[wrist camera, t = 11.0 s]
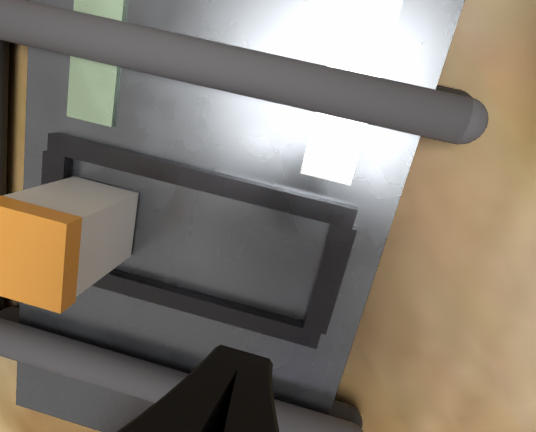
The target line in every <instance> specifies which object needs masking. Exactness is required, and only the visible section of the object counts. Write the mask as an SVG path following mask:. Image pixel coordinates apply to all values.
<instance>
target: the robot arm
mask: <svg viewBox="0 0 536 432" xmlns="http://www.w3.org/2000/svg"><path fill="white" fill-rule="evenodd" d="M272 369H273V363H272V362H271V360H270V359H269V358H266V357H262V356H259V355H256V354H252V353H249V352H245V351H242V350H238V349H235V348H231V347H228V346H224V345H219V346H217V347H215V348H214V349H213V350H212V352H211V353H210V354H209V355H208V356H207V357H206V358H205V359H204V360H203V361H202V362H201V363H200V364H199V365H198V366H197V367H196V368H195V369H194V370H193V371H192V372H191V373H190V374H188V375H187V376H186V377H185V378H184V379H183V380H182V381H181V382H179V383H178V384H177V385H176V386H175V387H174V388H173V389H171V390H170V391H169V392H168V393H167V394H166V395H164V396H163V397H162V398H161V399H159V400H158V401H157V402H156V403H154V404H153V405H152V406H150V407H149V408H148V409H146V410H145V411H144V412H143V413H141V414H140V415H139V416H137V417H136V418H135V419H133V420H132V421H131V422H129V423H128V424H127V425H125V426H124V427H122V428H121V429H119V430H118V431H117V432H279V426H278V421H277V416H276V409H275V403H274V394H273V382H272Z"/></svg>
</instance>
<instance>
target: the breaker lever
mask: <svg viewBox="0 0 536 432" xmlns="http://www.w3.org/2000/svg"><path fill="white" fill-rule="evenodd" d="M138 195H139V193H137V192H133V191H129V190H125V189H122V188H118V187H114V186H110V185H106V184H102V183H98V182H94V181H90V180H87V179H83V178H79V177H75V176H74V177H70V178H66V179H62V180H59V181H55V182H51V183H47V184H44V185H40V186H36V187H33V188H29V189H25V190H21V191H18V192H14V193H10V194H6V195H3V196H1V195H0V296H1V297H5V298H8V299H12V300H15V301H19V302H22V303H25V304H29V305H32V306H36V307H39V308H43V309H46V310H49V311H53V312H56V313H60V314H61V313H62V312H63V311H65V310H66V309H67V308H69V307H70V306H71V305H73V304H74V303H75V301H76V297H77V296H78V295H79V294H81V293H82V292H83V291H85V290H86V289H87V288H89V287H90V286H91V285H93V284H94V283H95V282H97V281H98V280H99V279H101V278H102V277H103V276H105V275H106V274H108V273H109V272H110V271H112V270H113V269H114V268H116V267H117V266H118V265H120V264H121V263H122V262H124V261H125V260H126V259H128V258H129V257H130V256H131V252H132V243H133V235H134V227H135V219H136V211H137V203H138Z"/></svg>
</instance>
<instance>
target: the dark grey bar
mask: <svg viewBox="0 0 536 432" xmlns="http://www.w3.org/2000/svg"><path fill="white" fill-rule="evenodd" d="M0 356H3V357H6V358H9V359H12V360H16V361H19V362H22V363H25V364H29V365H32V366H35V367H38V368H42V369H45V370H48V371H52V372H55V373H58V374H61V375H65V376H68V377H71V378H74V379H78V380H81V381H84V382H88V383H91V384H94V385H97V386H101V387H104V388H107V389H110V390H114V391H117V392H120V393H123V394H127V395H130V396H133V397H137V398H140V399H143V400H146V401H150V402H153V403H156V402H157V401H158V400H159V399H161V398H162V397H163V396H164V395H166V394H167V393H168V392H169V391H170V390H171V389H173V388H174V387H175V386H176V385H177V384H178V383H179V382H181V381H182V380H183V379H184V378H185V377H186V376H187V375H188V373H185V372H181V371H178V370H175V369H171V368H168V367H164V366H161V365H158V364H154V363H151V362H148V361H144V360H141V359H138V358H134V357H131V356H127V355H124V354H121V353H117V352H114V351H111V350H107V349H104V348H100V347H97V346H94V345H90V344H87V343H84V342H80V341H77V340H73V339H70V338H67V337H63V336H60V335H57V334H53V333H50V332H47V331H43V330H40V329H36V328H33V327H30V326H26V325H23V324H20V323H19V307H7V308H4V309H2V310H1V311H0ZM274 403H275V409H276V416H277V421H278V426H279V432H363V430H362V417H361V415H360V413H359V411H358V410H357V409H356V408H355V407H354V406H352V405H350V404H347V403H344V402H341V401H337V400H334V402H333V405H332V408H331V411H330V414H329V415H326V414H323V413H320V412H316V411H313V410H309V409H306V408H303V407H299V406H296V405H293V404H289V403H286V402H282V401H279V400H276V399H274Z"/></svg>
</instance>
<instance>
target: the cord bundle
mask: <svg viewBox="0 0 536 432" xmlns="http://www.w3.org/2000/svg"><path fill="white" fill-rule="evenodd" d="M9 42H12V43H17V44H21V45H25V46H30V47H34V48H38V49H43V50H47V51H51V52H56V53H60V54H65V55H69V56H73V57H78V58H82V59H86V60H91V61H95V62H99V63H104V64H108V65H112V66H117V67H121V68H126V69H130V70H134V71H139V72H143V73H147V74H152V75H156V76H160V77H165V78H169V79H174V80H178V81H182V82H187V83H191V84H195V85H200V86H204V87H208V88H213V89H217V90H222V91H226V92H230V93H235V94H239V95H243V96H248V97H252V98H256V99H261V100H265V101H269V102H274V103H278V104H283V105H287V106H291V107H296V108H300V109H304V110H309V111H313V112H317V113H322V114H326V115H331V116H335V117H339V118H344V119H348V120H352V121H357V122H361V123H365V124H370V125H374V126H379V127H383V128H387V129H392V130H396V131H400V132H405V133H409V134H413V135H418V136H422V137H426V138H431V139H435V140H440V141H444V142H448V143H453V144H467V143H470V142H472V141H474V140H476V139H477V138H479V137H480V136H481V135H482V134H483V132H484V131H485V129H486V127H487V124H488V113H487V109H486V108H485V106H484V105H483V104H482V103H481V102H480V101H478V100H477V99H474V98H472V97H471V96H470V95H469V94H468V93H466V92H465V91H462V90H458V89H453V88H449V87H444V86H439V85H437V86H436V89H431V88H426V87H421V86H417V85H412V84H408V83H403V82H399V81H394V80H389V79H385V78H380V77H376V76H371V75H366V74H362V73H357V72H353V71H348V70H344V69H339V68H334V67H330V66H325V65H321V64H316V63H311V62H307V61H302V60H298V59H293V58H289V57H284V56H279V55H275V54H270V53H266V52H261V51H257V50H252V49H247V48H243V47H238V46H234V45H229V44H224V43H220V42H215V41H211V40H206V39H202V38H197V37H192V36H188V35H183V34H179V33H174V32H169V31H165V30H160V29H156V28H151V27H147V26H142V25H137V24H133V23H128V22H124V21H119V20H115V19H110V18H105V17H101V16H96V15H92V14H87V13H82V12H78V11H73V10H69V9H64V8H60V7H55V6H50V5H46V4H41V3H37V2H32V1H30V0H0V195H1V196H3V195H6V174H7V126H8V79H9ZM2 309H4V297H1V296H0V311H1V310H2Z"/></svg>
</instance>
